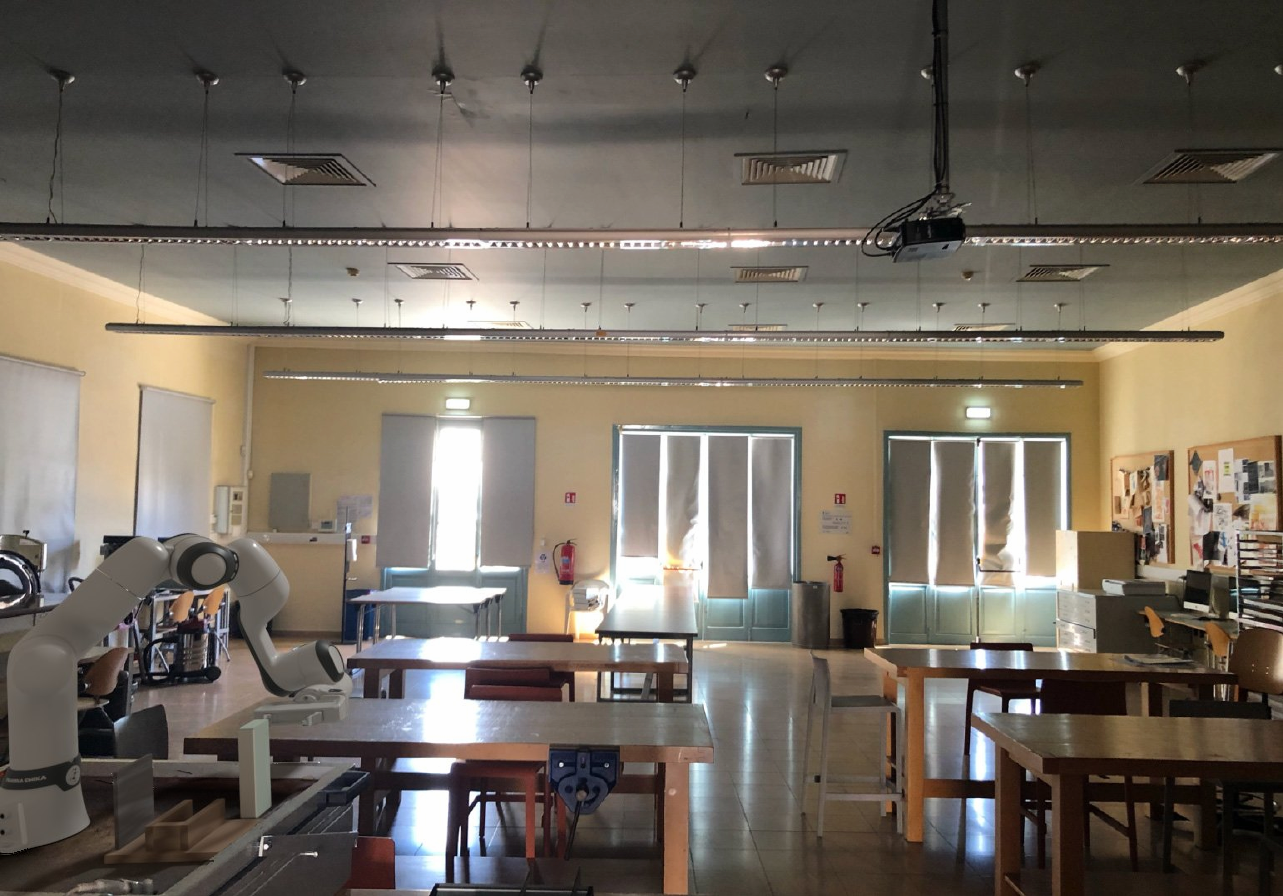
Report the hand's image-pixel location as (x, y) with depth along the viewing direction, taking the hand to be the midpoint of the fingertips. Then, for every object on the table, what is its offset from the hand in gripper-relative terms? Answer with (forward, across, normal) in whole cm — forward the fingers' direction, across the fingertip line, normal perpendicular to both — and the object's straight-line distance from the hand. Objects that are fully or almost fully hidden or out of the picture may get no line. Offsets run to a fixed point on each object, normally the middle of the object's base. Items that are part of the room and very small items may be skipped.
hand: (284, 723), depth 180 cm
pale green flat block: (+12, 0, +14) cm, 19 cm away
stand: (+26, -6, +14) cm, 31 cm away
